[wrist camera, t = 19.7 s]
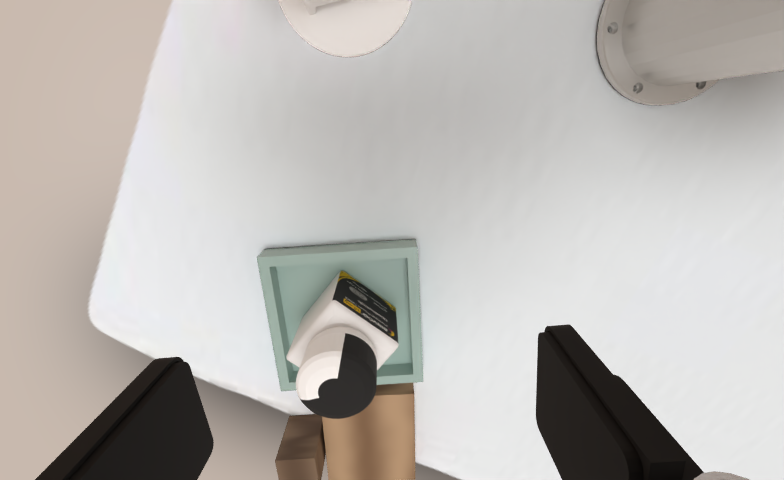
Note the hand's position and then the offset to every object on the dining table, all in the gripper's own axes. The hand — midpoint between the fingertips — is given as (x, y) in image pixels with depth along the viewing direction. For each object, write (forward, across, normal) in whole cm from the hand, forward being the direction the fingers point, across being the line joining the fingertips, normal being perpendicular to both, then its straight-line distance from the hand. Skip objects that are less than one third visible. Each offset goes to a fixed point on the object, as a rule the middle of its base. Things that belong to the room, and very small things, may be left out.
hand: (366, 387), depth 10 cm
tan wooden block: (+27, +5, +27) cm, 38 cm away
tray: (+27, +5, +12) cm, 30 cm away
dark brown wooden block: (+26, +12, +27) cm, 39 cm away
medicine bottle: (+26, +5, +12) cm, 29 cm away
